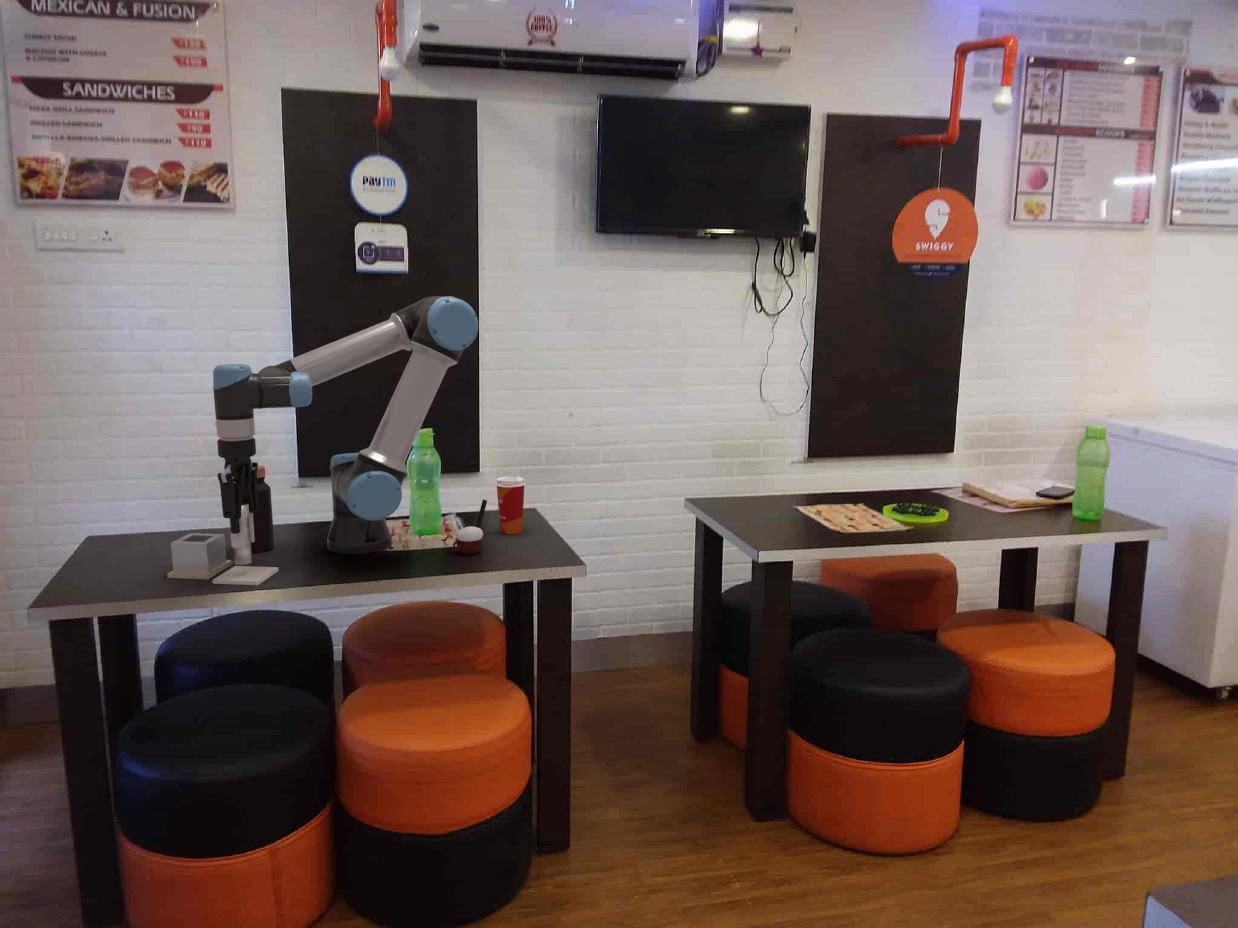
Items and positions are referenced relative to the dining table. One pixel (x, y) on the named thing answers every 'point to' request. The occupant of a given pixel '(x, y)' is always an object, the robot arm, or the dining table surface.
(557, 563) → the dining table surface
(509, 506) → the paper cup
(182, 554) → the grey box
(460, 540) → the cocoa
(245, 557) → the metal cylinder
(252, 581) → the pad
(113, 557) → the dining table surface
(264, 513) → the bottle
